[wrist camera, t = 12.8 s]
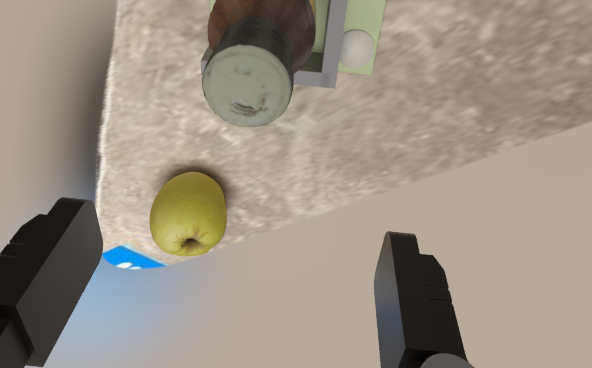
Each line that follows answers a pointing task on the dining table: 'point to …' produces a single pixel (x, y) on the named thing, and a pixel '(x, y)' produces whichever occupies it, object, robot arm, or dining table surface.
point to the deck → (338, 41)
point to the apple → (188, 215)
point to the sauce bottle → (256, 57)
